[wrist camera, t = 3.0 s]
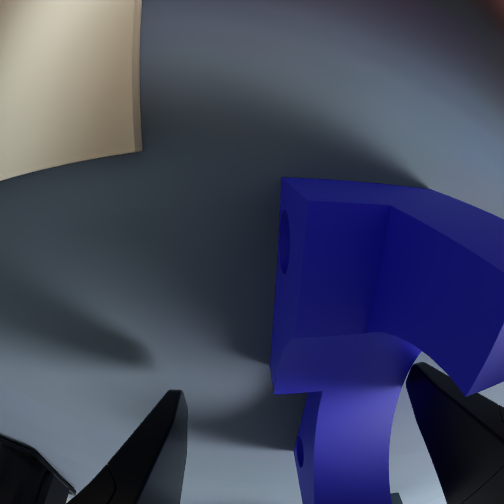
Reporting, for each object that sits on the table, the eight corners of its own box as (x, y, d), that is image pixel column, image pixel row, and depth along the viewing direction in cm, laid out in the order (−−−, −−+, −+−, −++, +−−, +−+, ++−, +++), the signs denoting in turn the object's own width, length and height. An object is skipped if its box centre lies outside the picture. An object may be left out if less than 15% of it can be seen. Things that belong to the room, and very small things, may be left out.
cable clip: (280, 176, 7) (401, 295, 2) (427, 188, 8) (595, 270, 2) (261, 450, 12) (272, 562, 6) (352, 439, 12) (383, 539, 7)
